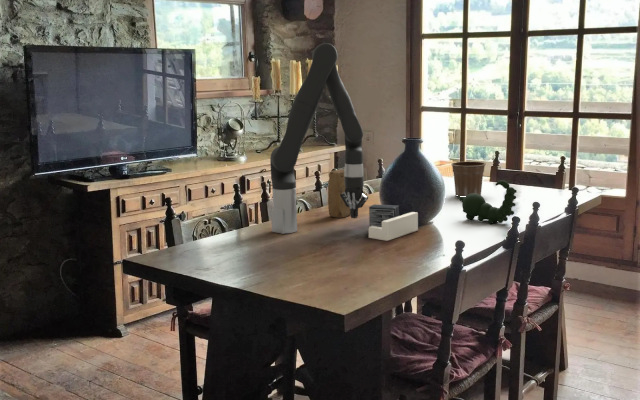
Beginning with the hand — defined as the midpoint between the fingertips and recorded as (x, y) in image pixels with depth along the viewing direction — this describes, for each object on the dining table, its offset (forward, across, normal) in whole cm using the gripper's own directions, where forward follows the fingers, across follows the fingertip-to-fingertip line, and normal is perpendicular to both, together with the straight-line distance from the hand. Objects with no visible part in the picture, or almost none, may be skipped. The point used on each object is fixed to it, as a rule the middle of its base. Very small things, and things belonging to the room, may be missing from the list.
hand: (354, 217), depth 274 cm
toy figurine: (+4, +36, +40) cm, 54 cm away
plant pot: (+4, +3, +85) cm, 86 cm away
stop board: (+4, +19, +1) cm, 19 cm away
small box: (+4, +14, +1) cm, 15 cm away
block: (+4, -18, +14) cm, 24 cm away
